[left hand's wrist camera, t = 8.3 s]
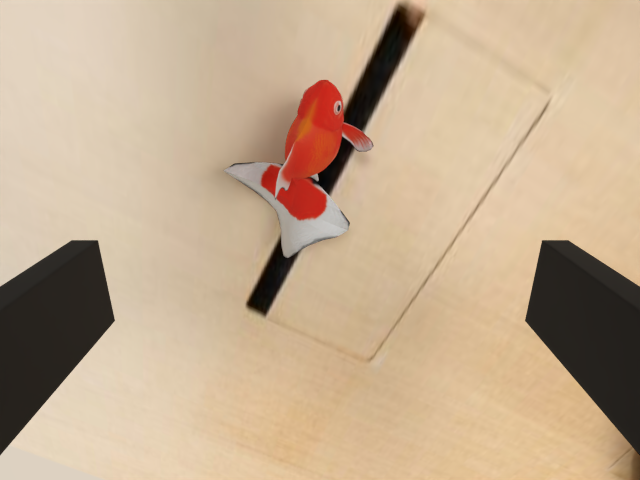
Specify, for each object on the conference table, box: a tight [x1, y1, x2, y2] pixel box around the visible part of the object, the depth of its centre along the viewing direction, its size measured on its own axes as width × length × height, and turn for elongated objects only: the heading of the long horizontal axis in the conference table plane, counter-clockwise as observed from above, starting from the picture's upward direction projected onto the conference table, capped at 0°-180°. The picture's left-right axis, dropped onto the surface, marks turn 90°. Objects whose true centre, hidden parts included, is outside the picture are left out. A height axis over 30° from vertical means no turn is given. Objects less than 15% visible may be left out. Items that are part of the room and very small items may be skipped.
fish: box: [224, 80, 373, 258], centre depth 35 cm, size 11×16×10 cm
